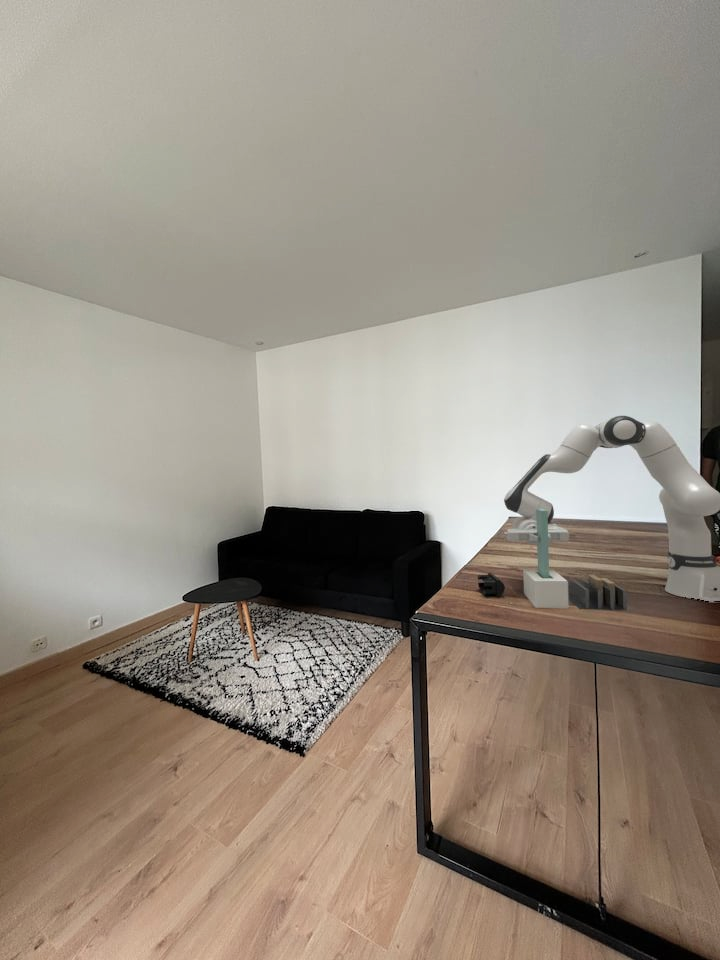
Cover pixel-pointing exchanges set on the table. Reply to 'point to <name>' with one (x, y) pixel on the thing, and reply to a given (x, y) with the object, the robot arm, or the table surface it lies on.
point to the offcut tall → (597, 584)
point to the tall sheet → (542, 543)
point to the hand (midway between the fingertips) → (543, 539)
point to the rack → (596, 596)
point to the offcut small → (609, 585)
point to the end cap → (490, 585)
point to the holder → (546, 589)
